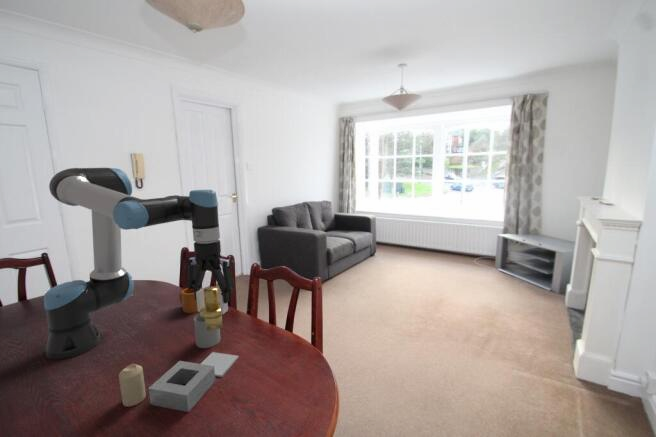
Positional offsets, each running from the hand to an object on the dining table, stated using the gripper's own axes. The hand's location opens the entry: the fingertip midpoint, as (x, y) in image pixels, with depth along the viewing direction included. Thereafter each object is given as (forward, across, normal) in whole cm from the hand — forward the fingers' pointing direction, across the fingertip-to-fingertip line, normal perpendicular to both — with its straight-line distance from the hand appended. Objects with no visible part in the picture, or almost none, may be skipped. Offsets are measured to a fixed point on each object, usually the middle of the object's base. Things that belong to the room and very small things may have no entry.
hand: (212, 310), depth 95 cm
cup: (+19, -11, +11) cm, 25 cm away
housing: (+19, -2, -13) cm, 23 cm away
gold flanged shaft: (+6, 0, 0) cm, 6 cm away
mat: (+19, 0, 0) cm, 19 cm away
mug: (+19, -36, +34) cm, 53 cm away
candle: (+19, -14, -18) cm, 30 cm away
